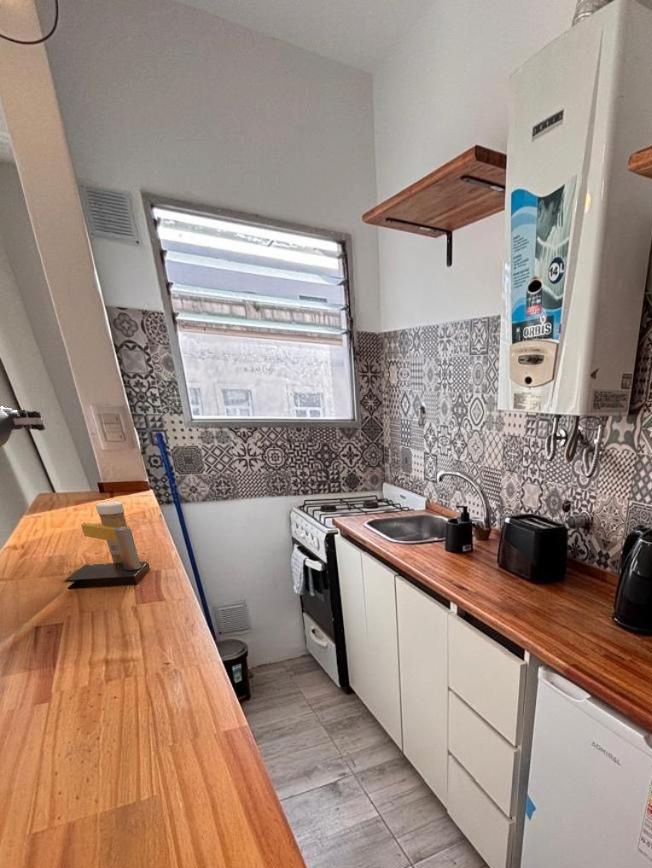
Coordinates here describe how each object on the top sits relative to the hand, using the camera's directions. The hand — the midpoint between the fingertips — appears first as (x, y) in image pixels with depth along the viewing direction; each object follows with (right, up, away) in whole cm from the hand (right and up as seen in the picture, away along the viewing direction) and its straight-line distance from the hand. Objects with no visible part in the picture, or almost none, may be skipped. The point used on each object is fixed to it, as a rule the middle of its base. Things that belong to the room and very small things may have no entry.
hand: (21, 417), depth 84 cm
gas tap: (+1, -21, +21) cm, 30 cm away
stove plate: (+1, -24, +19) cm, 31 cm away
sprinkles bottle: (-1, -21, +26) cm, 34 cm away
